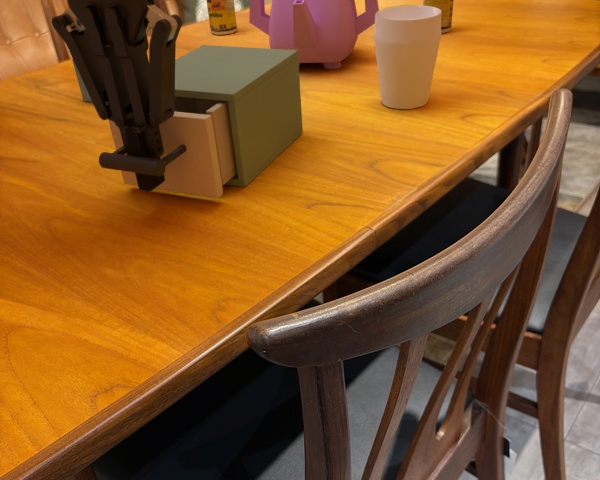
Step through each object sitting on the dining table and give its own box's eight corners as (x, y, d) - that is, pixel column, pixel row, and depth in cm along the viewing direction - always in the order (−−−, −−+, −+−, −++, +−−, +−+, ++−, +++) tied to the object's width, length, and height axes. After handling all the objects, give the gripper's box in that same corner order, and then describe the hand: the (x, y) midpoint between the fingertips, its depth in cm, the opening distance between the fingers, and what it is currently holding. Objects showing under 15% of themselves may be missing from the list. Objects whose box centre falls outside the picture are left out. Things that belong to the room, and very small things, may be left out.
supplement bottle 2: (453, 33, 117) (458, -27, 111) (423, 35, 117) (427, -25, 111) (448, 26, 121) (453, -32, 115) (419, 28, 122) (422, -30, 115)
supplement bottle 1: (205, 34, 128) (197, -21, 122) (223, 27, 132) (216, -26, 126) (224, 36, 125) (217, -19, 119) (242, 30, 129) (236, -24, 123)
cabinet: (245, 187, 70) (233, 94, 63) (146, 172, 74) (126, 85, 68) (302, 133, 82) (297, 50, 75) (214, 123, 86) (203, 44, 80)
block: (83, 101, 98) (71, 59, 94) (103, 90, 102) (92, 50, 98) (108, 103, 96) (97, 60, 92) (127, 93, 100) (118, 51, 96)
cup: (391, 88, 94) (394, 2, 87) (446, 96, 89) (454, 7, 82) (361, 107, 88) (361, 17, 81) (418, 116, 84) (423, 23, 76)
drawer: (189, 224, 62) (173, 141, 56) (91, 207, 66) (68, 128, 61) (279, 143, 77) (273, 71, 72) (195, 133, 81) (183, 65, 76)
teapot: (325, 39, 119) (322, -49, 110) (390, 57, 107) (393, -41, 97) (242, 62, 110) (231, -32, 101) (302, 84, 98) (295, -21, 89)
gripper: (184, -82, 51) (223, 177, 65) (62, -78, 56) (123, 163, 70) (130, -70, 46) (185, 210, 60) (0, -67, 50) (80, 192, 64)
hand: (152, 184), depth 65 cm, fingers closed
